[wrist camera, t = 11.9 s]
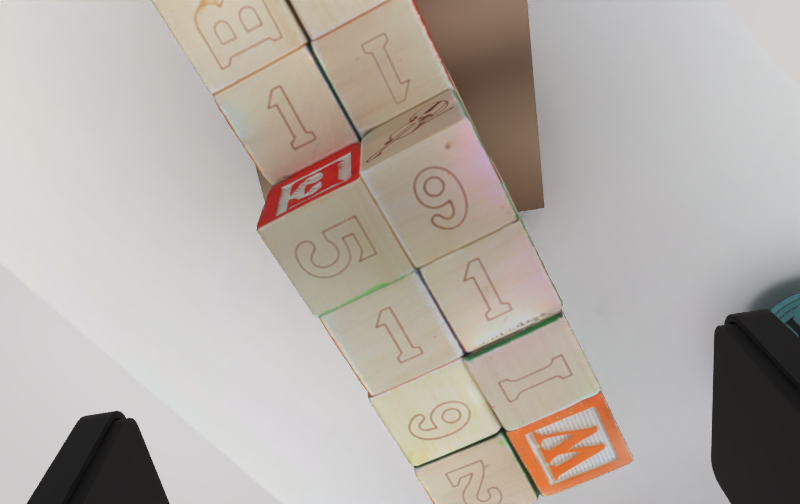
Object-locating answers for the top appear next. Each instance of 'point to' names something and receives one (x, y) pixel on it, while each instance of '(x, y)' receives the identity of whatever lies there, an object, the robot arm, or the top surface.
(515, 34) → the walnut base brick
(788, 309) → the beverage bottle
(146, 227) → the top surface
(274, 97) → the stack of blocks
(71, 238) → the top surface
